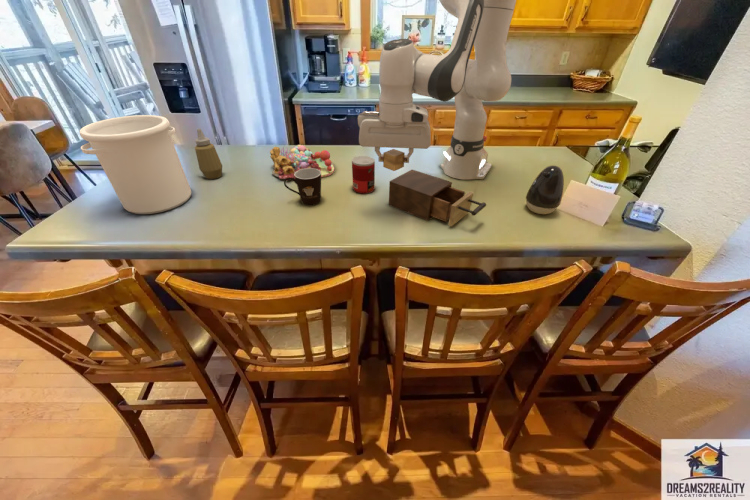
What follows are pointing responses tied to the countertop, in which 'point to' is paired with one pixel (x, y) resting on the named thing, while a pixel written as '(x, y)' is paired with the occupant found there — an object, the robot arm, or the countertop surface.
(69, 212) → the countertop surface
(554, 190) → the dark egg ornament
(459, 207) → the drawer
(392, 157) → the block
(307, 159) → the candy landscape model
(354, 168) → the canned food
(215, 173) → the squeeze bottle
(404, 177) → the cabinet
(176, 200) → the bucket
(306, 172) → the coffee mug
